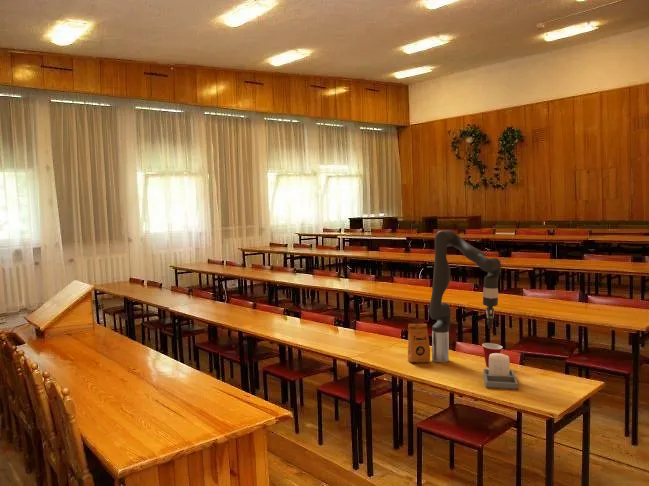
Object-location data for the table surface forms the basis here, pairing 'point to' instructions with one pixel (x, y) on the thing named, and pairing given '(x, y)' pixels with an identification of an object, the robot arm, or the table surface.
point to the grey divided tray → (500, 380)
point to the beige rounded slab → (499, 364)
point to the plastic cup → (490, 350)
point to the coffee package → (418, 343)
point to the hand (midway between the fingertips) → (489, 326)
